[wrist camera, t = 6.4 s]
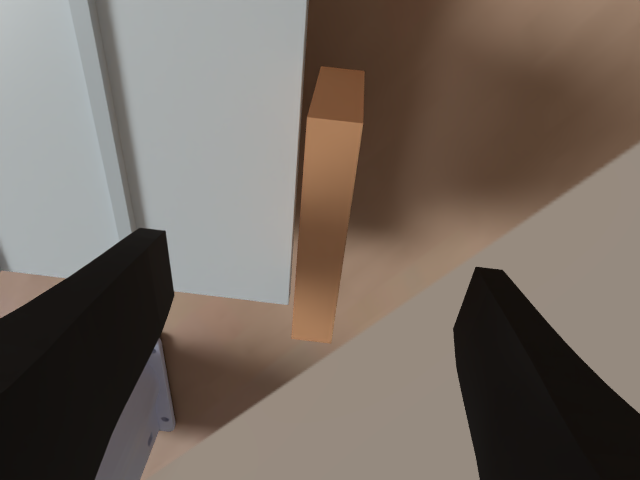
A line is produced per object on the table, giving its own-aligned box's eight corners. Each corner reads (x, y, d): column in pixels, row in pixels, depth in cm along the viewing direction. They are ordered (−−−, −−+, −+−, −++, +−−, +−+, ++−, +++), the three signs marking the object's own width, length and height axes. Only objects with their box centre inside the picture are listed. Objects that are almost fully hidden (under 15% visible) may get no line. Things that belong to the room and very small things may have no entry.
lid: (332, 299, 19) (324, 388, 16) (-136, 243, 19) (-243, 318, 16) (376, -24, 12) (379, 11, 9) (-349, -102, 12) (-615, -98, 9)
